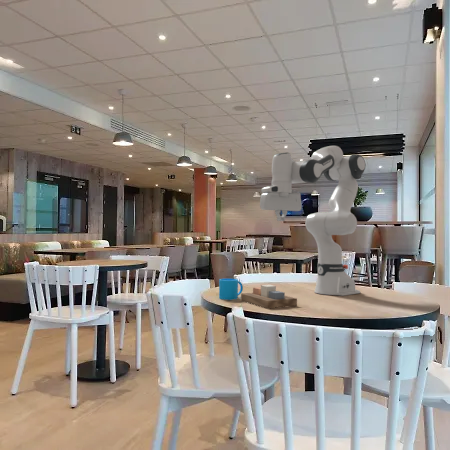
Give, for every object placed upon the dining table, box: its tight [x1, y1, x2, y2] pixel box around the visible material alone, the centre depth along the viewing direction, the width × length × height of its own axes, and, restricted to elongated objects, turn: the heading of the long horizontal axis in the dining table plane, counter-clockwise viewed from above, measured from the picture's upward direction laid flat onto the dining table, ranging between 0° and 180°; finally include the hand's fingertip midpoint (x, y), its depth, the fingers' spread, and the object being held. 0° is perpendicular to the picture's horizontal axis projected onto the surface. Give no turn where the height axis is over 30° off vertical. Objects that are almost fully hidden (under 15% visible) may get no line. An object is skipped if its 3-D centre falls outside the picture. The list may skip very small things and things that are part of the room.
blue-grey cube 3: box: [269, 290, 286, 300], centre depth 171 cm, size 4×4×4 cm
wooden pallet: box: [240, 292, 298, 309], centre depth 176 cm, size 14×20×3 cm
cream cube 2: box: [260, 284, 277, 297], centre depth 176 cm, size 4×4×4 cm
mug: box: [218, 278, 244, 301], centre depth 189 cm, size 12×8×8 cm
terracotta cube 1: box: [252, 286, 261, 295], centre depth 182 cm, size 4×4×4 cm
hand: (281, 220), depth 188 cm, fingers closed
